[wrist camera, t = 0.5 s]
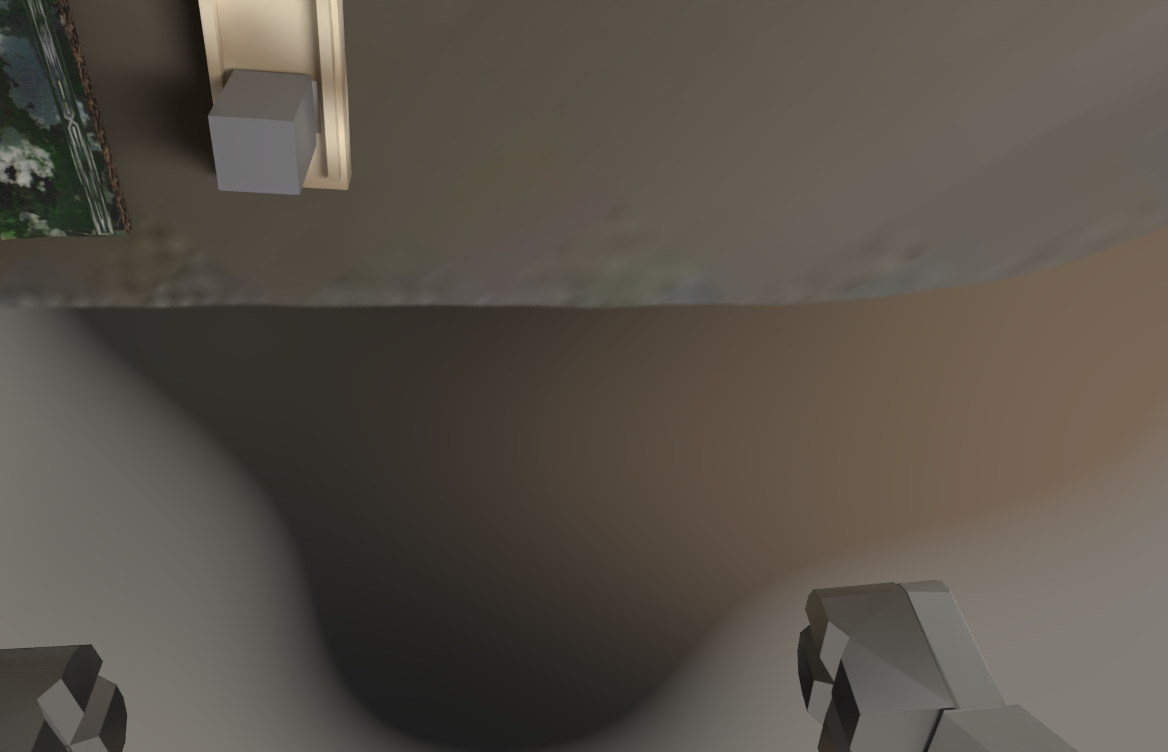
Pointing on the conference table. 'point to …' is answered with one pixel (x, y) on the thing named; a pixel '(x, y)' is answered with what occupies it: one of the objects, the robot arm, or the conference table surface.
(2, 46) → the floral canvas painting
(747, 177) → the conference table surface
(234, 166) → the grey rectangular block
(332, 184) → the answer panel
